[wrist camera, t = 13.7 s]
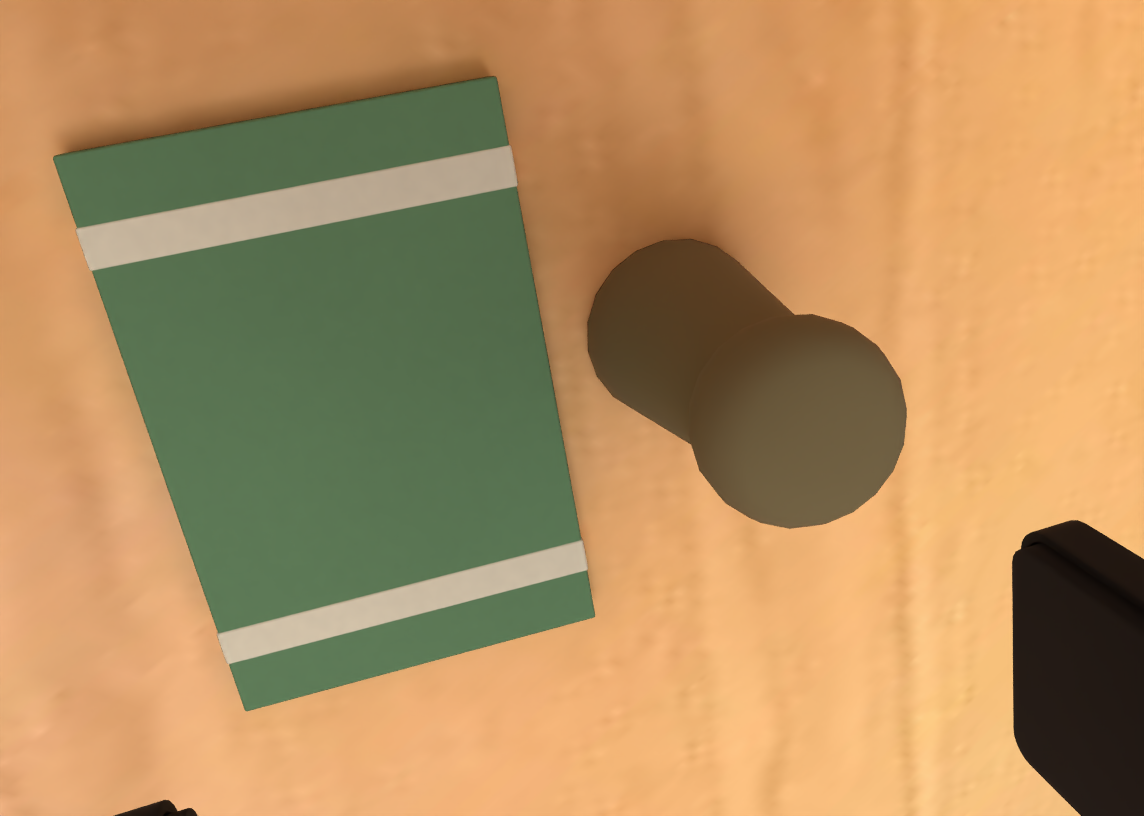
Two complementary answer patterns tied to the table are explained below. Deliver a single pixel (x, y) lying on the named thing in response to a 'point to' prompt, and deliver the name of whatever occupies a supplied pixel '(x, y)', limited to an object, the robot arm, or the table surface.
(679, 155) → the table surface
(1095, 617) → the robot arm
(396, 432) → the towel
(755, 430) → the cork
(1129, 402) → the table surface
